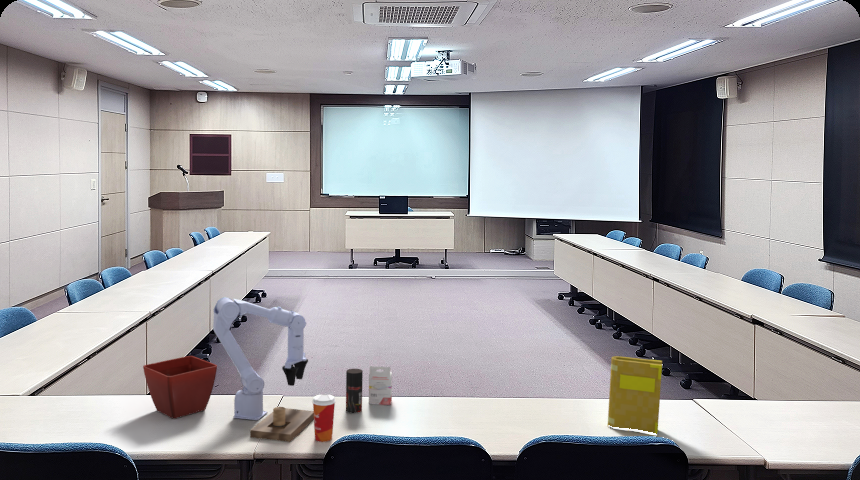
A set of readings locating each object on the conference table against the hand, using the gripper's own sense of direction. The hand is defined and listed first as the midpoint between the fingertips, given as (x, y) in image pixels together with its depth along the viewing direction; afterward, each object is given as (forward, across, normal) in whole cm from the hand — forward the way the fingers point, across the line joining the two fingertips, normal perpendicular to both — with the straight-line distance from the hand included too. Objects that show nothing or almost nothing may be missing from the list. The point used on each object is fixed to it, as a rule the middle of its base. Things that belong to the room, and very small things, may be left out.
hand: (295, 382), depth 247 cm
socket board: (+10, -17, -3) cm, 20 cm away
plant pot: (+11, -12, +39) cm, 42 cm away
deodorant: (+11, +5, -21) cm, 24 cm away
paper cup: (+11, -23, -19) cm, 32 cm away
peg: (+10, -21, -3) cm, 24 cm away
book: (+11, +14, -121) cm, 122 cm away
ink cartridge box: (+11, +16, -28) cm, 34 cm away
